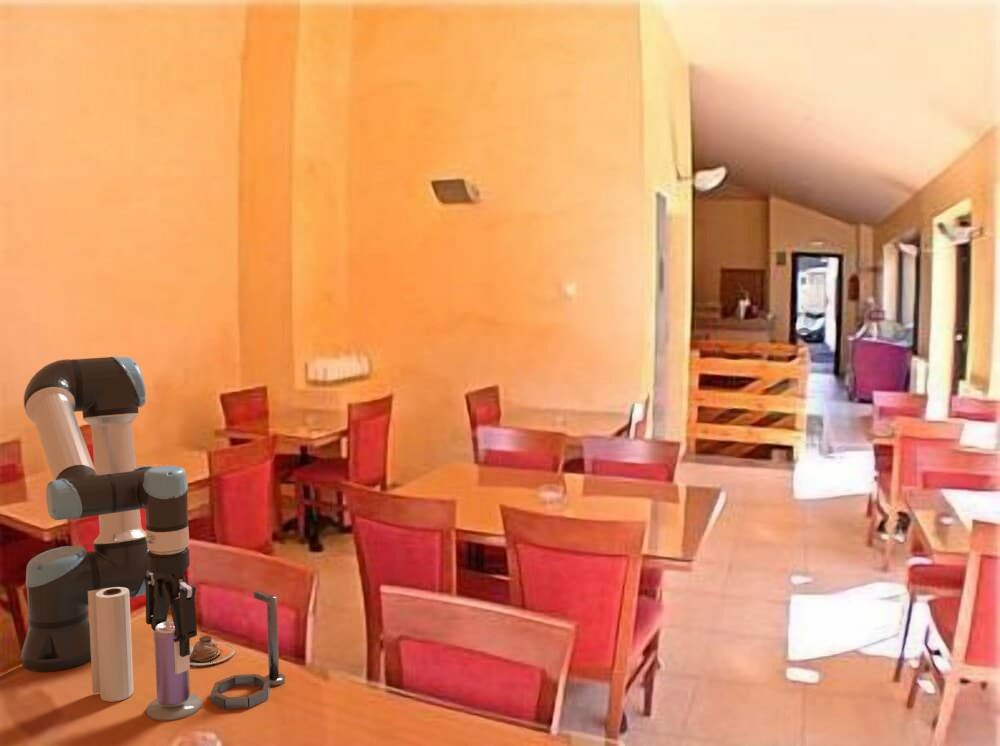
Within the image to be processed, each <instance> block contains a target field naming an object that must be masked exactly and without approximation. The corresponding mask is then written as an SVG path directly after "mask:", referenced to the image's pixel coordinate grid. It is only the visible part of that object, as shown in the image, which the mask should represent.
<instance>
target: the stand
mask: <svg viewBox="0 0 1000 746" xmlns="http://www.w3.org/2000/svg"><path fill="white" fill-rule="evenodd" d="M253 597H254V598H253V599H256V600H259V601H262V602H265V603H266V611H267V613H266V616H267V617H266V620H267V649H268V650H267V652H268V653H267V654H268V655H267V656H268V658H267V659H268V674H266V675H265V676H262V675H260V674H256V673H248V674H245V673H244V674H233V675H231V676H228V677H226V678H223V679H221V680H218V681H217V682H214V684H213V687H212V689H211V692H210V702H211V704H213V705H214V706H217V707H219V708H220V709H223V710H240V709H241V710H243V709H244V710H245V709H246V710H247V709H251V708H253V707H255V706H257V705H258V706H259V704H262V703H265V702H266V701H268V700H269V697H270V693H271V687H272V688H273V687H274V688H275V687H278V686H281V685H282V686H283V684H285V682H286V675H285V674H282V673H280V662H279V632H278V631H279V629H278V628H279V622H278V618H279V617H278V595H276V594H270V593H266V592H264V591H261V590H257V591H254V592H253ZM252 686H254V687H256V688H258V689H260V690H258V691H256V692H254V693H251V694H249V695H245V696H244V695H243V696H241V695H240V696H230V697H229V696H227V695H224V694H222V693H224V692H226V691H228V690H231V689H233V688H235V687H252Z"/></svg>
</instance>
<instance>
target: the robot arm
mask: <svg viewBox="0 0 1000 746" xmlns="http://www.w3.org/2000/svg"><path fill="white" fill-rule="evenodd" d="M146 395H147V392H146V385H145V380H144V376H143V374H142V371H141V369H140V367H139V365H138V364H137V362H136V361H135V360H134V359H133V358H131V357H127V356H123V357H122V356H110V357H109V356H108V357H107V356H106V357H92V358H91V357H90V358H89V357H88V358H77V359H76V358H75V359H60V360H59V359H58V360H55V361H53V362H50V363H48V364H46V365H44V366H43V367H42V368H41V369H39V370H38V371H37V372H36V373H35V374H34V375H33V376H32V377H31V378H30V380H29V382H28V384H27V386H26V388H25V390H24V394H23V407H24V410H25V414H26V416H27V418H28V419H29V420H30V421H31V422H32V423H34V424H35V427H36V430H37V434H38V436H39V439H40V443H41V446H42V448H43V449H42V450H43V452H44V455H45V458H46V461H47V465H48V467H49V471H50V474H51V476H52V480H51V481H49V482H48V483H47V485H46V489H45V490H46V491H45V494H46V497H45V498H46V507H47V511H48V514H49V517H50V518H51V519H53V520H54V521H62V520H78V519H82V518H83V519H84V518H88V517H96V516H98V523H99V534H98V536H97V537H96V538H95V540H94V541H93V550H89V551H87V550H86V549H85V548H84V547H83V545H82V546H81V545H75V544H73V545H71V546H70V545H66V546H60V547H56V548H51V549H48V550H45V551H43V552H41V553H39V554H37V555H35V556H34V557H32V558H31V559H30V560H29V561H28V563H27V565H26V568H25V569H26V570H25V572H26V573H25V574H26V575H25V583H24V584H25V586H26V593H27V594H26V596H27V613H28V616H27V617H28V629H27V632H26V636H25V639H24V643H23V647H22V650H21V655H20V659H21V666H22V667H23V668H24V669H26V670H29V671H32V672H55V671H64V670H68V669H72V668H75V667H78V666H81V665H84V664H87V663H88V662H90V661H91V646H90V626H89V605H88V591H93V590H99V589H103V588H112V587H124V588H128V590H129V598H130V599H135V598H137V597H139V596H143V595H144V596H145V623H146V624H147V625H150V628H151V629H152V631H153V634H154V633H155V627H156V626H157V625H158V624H160V623H162V622H165V621H168V614H169V608H170V612H171V617H172V620H173V623H174V627H175V632H176V637H177V638H176V639H173V641H174V658H175V673H176V674H179V673H182V672H184V671H187V670H189V671H190V669H191V665H190V662H191V661H190V660H191V654H190V646H191V645H190V641H191V639H192V638H195V637H197V636H198V627H197V614H196V601H195V600H196V599H195V597H196V591H197V588H196V586H195V585H194V584H192V585H189V584H188V583H187V579H186V576H185V572H186V571H187V569H188V568H190V564H191V563H190V562H191V561H190V558H191V557H190V549H189V545H190V534H189V533H190V531H189V510H188V507H189V506H188V489H189V484H188V481H187V471H186V470H185V468H183V467H182V466H178V465H177V466H176V465H159V466H152V465H142V466H138V467H137V465H136V464H137V462H136V460H137V459H136V452H135V451H136V450H135V440H134V437H135V436H134V427H133V422H134V421H135V420H136V419H137V417H138V416H139V415H140V414H139V413H140V411H139V408H142V407H143V406H144V405H145V404H146V402H147V398H146ZM75 412H82V419H83V421H84V422H85V423H87V424H88V425H89V426H90V428H91V439H92V440H91V441H92V450H93V451H92V452H93V453H92V454H93V460H92V457H91V455H90V452H89V449H88V446H87V444H86V441H85V439H84V436H83V433H82V431H81V428H80V425H79V423H78V419H77V417H76V414H75ZM141 510H144V512H145V513H144V514H145V530H144V529H143V527H142V522H141V521H142V520H141ZM153 640H154V641H153V643H154V644H155V636H154V635H153ZM154 661H155V660H154ZM154 663H155V665H156V661H155V662H154Z"/></svg>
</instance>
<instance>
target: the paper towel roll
mask: <svg viewBox="0 0 1000 746" xmlns="http://www.w3.org/2000/svg"><path fill="white" fill-rule="evenodd" d="M130 599H131V597H130V598H129V590H128V588H124V587H112V588H103V589H99V590H93V591H88V605H89V606H88V617H89V626H90V646H91V660H90V661H91V681H92V682H91V683H92V686H91V687H92V694H97V693H99V694H100V695H99V696H100V698H101V700H102V701H104V702H112V703H113V702H119V701H122V700H125V699H128V698H130V697H132V696H133V693H134V670H133V668H134V667H133V648H132V647H133V646H132V645H133V643H132V628H131V627H132V626H131V623H132V622H131V605H130V603H131V601H130Z"/></svg>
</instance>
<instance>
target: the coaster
mask: <svg viewBox="0 0 1000 746" xmlns="http://www.w3.org/2000/svg"><path fill="white" fill-rule="evenodd" d="M202 704H203V703H202V698H201V697H200V696H198V695H196V694H194V693H190V697H189V699H188V700H187V701H186V702H185V703H184V704H182V705H179V706H175V707H164V706H161V705H160V704H159V703H158V701H157V698H156V699H154V700H152V701H151V702H150V703H148V704H147V706H146V709H145V711H146V712H145V713H146V715H147V716H148V718H150V719H151V720H155V721H177V720H180V719H184V718H188V717H189V716H191V715H194V714H195V713H197V712H198V711H199V710H200V709H201V707H202Z"/></svg>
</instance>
